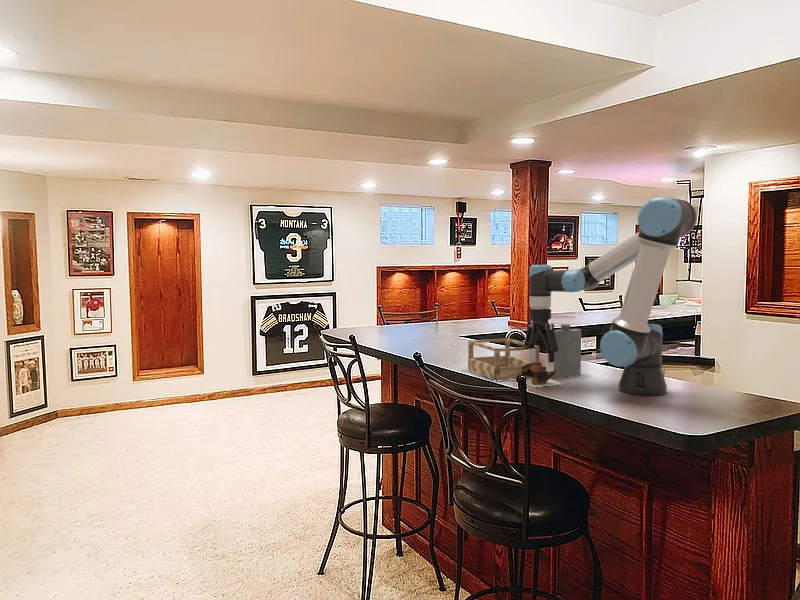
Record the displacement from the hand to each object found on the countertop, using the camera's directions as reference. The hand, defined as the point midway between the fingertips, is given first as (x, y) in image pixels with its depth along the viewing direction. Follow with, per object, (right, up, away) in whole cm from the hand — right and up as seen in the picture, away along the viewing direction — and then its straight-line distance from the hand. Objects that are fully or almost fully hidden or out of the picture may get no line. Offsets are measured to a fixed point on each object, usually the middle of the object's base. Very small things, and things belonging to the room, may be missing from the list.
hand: (540, 368), depth 221 cm
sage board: (0, -5, +1) cm, 6 cm away
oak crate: (-10, -4, +19) cm, 22 cm away
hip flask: (+12, -5, +14) cm, 19 cm away
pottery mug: (-1, -5, 0) cm, 5 cm away
